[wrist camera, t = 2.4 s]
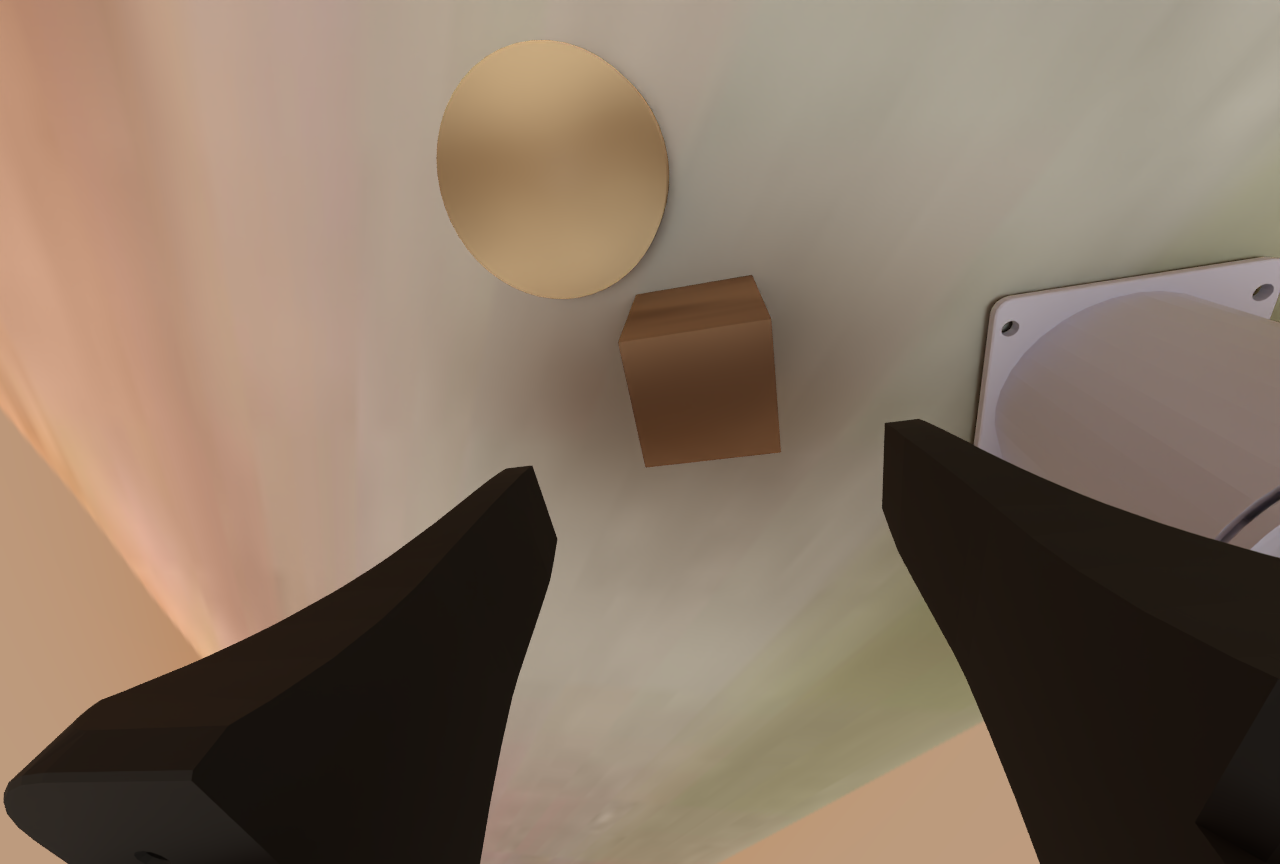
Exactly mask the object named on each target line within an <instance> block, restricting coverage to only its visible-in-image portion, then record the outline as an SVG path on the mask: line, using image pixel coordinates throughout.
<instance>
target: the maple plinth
mask: <svg viewBox="0 0 1280 864" xmlns="http://www.w3.org/2000/svg"><path fill="white" fill-rule="evenodd" d="M437 174H438V180H439V186H440V191H441V195H442V198H443V202H444V206H445V208H446V211H447V213H448V216H449V218H450V221H451V223H452V225H453V227H454V228H455V230H456V232H457V234H458V236H459V237H460V239H461V240H462V242H463V243H464V245H465V246H466V248H467V249H468V250H469V251H470V253H471V254H472V255H473V256H474V257H475V258H476V260H477V261H478V262H479V263H480V264H482V265H483V266H484V267H485V268H486V269H487V270H488V271H489V272H490V273H492V274H493V275H494V276H496V277H497V278H498V279H500V280H501V281H503V282H505V283H507V284H508V285H510V286H512V287H514V288H516V289H518V290H521V291H523V292H525V293H529V294H532V295H536V296H539V297H545V298H552V299H570V298H579V297H583V296H587V295H591V294H594V293H596V292H599V291H601V290H604V289H606V288H608V287H609V286H611V285H613V284H615V283H616V282H618V281H619V280H620V279H621V278H623V277H624V276H625V275H627V274H628V273H629V272H630V271H631V270H632V269H633V268H634V267H635V266H636V265H637V264H638V262H639V261H640V260H641V258H642V257H643V256H644V254H645V253H646V251H647V250H648V248H649V246H650V244H651V243H652V241H653V239H654V236H655V234H656V232H657V229H658V227H659V224H660V222H661V220H662V217H663V214H664V210H665V206H666V203H667V196H668V189H669V165H668V156H667V151H666V146H665V141H664V138H663V136H662V133H661V130H660V127H659V124H658V122H657V120H656V118H655V116H654V114H653V112H652V110H651V109H650V107H649V106H648V104H647V102H646V101H645V99H644V98H643V97H642V95H641V94H640V93H639V92H638V91H637V89H636V88H635V87H634V86H633V85H632V84H631V83H630V82H629V81H628V80H627V79H626V78H625V77H624V76H623V75H622V74H620V73H619V72H618V71H617V70H616V69H615V68H614V67H613V66H612V65H610V64H609V63H607V62H606V61H604V60H603V59H601V58H600V57H599V56H597V55H595V54H593V53H591V52H589V51H587V50H585V49H583V48H580V47H577V46H574V45H571V44H568V43H564V42H558V41H551V40H531V41H525V42H520V43H515V44H512V45H509V46H507V47H504V48H501V49H499V50H497V51H495V52H494V53H492V54H490V55H488V56H487V57H485V58H484V59H483V60H481V61H480V62H479V63H478V64H476V65H475V66H474V67H473V68H472V69H471V70H470V71H469V72H468V73H467V75H466V76H465V77H464V78H463V79H462V80H461V82H460V83H459V85H458V86H457V88H456V89H455V91H454V92H453V94H452V96H451V98H450V101H449V103H448V105H447V107H446V109H445V112H444V116H443V119H442V122H441V126H440V131H439V136H438V144H437Z"/></svg>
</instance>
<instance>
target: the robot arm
mask: <svg viewBox="0 0 1280 864" xmlns="http://www.w3.org/2000/svg"><path fill="white" fill-rule="evenodd" d="M1260 286H1261V289H1260V290H1259V292H1258V293H1257V294H1255V295H1254V296H1253V293H1254V291H1255V290H1256V289H1257V288H1258V287H1260ZM1279 293H1280V258H1274V257H1259V258H1253V259H1246V260H1239V261H1233V262H1226V263H1220V264H1213V265H1207V266H1200V267H1194V268H1187V269H1181V270H1174V271H1168V272H1161V273H1155V274H1148V275H1142V276H1135V277H1129V278H1122V279H1115V280H1109V281H1102V282H1096V283H1089V284H1083V285H1076V286H1070V287H1063V288H1057V289H1050V290H1044V291H1037V292H1031V293H1024V294H1018V295H1011V296H1007V297H1004V298H1002V299H1000V300H999V301H997V302H996V303H995V304H994V306H993V307H992V309H991V312H990V319H989V327H988V335H987V343H986V351H985V359H984V367H983V375H982V383H981V391H980V399H979V407H978V415H977V423H976V431H975V439H974V445H972V444H970V443H969V442H967V441H965V440H963V439H961V438H959V437H957V436H955V435H953V434H951V433H949V432H947V431H945V430H943V429H940V428H938V427H936V426H934V425H932V424H930V423H928V422H925V421H923V420H920V419H914V420H906V421H898V422H889V423H885V436H884V467H883V498H882V509H883V512H884V515H885V518H886V520H887V523H888V526H889V529H890V531H891V534H892V537H893V539H894V542H895V544H896V547H897V549H898V552H899V554H900V556H901V558H902V559H903V561H904V563H905V565H906V567H907V569H908V571H909V573H910V574H911V576H912V578H913V580H914V582H915V584H916V585H917V587H918V589H919V591H920V593H921V595H922V596H923V598H924V600H925V602H926V604H927V605H928V607H929V609H930V611H931V613H932V615H933V616H934V618H935V620H936V622H937V624H938V625H939V627H940V629H941V631H942V633H943V635H944V636H945V638H946V640H947V642H948V644H949V645H950V647H951V649H952V651H953V653H954V655H955V657H956V659H957V661H958V663H959V665H960V667H961V669H962V671H963V673H964V675H965V677H966V679H967V681H968V684H969V686H970V688H971V691H972V693H973V696H974V698H975V700H976V703H977V705H978V707H979V710H980V712H981V714H982V717H983V719H984V722H985V724H986V726H987V729H988V731H989V733H990V736H991V738H992V741H993V743H994V746H995V748H996V751H997V753H998V756H999V758H1000V761H1001V763H1002V766H1003V768H1004V771H1005V773H1006V776H1007V778H1008V781H1009V783H1010V786H1011V788H1012V791H1013V793H1014V796H1015V798H1016V801H1017V804H1018V806H1019V809H1020V812H1021V814H1022V817H1023V820H1024V822H1025V825H1026V828H1027V830H1028V833H1029V835H1030V838H1031V841H1032V843H1033V846H1034V849H1035V852H1036V854H1037V857H1038V860H1039V862H1040V864H1280V323H1279V322H1276V321H1273V320H1270V317H1271V314H1272V312H1273V309H1274V306H1275V304H1276V301H1277V299H1278V296H1279ZM1010 321H1012V322H1013V325H1012V327H1011V328H1010V329H1009V330H1008V331H1006V332H1004V333H1002V331H1001V330H1002V327H1003V326H1004V325H1005V324H1006V323H1007V322H1010ZM556 544H557V537H556V534H555V531H554V528H553V525H552V522H551V519H550V516H549V513H548V510H547V507H546V504H545V501H544V499H543V496H542V493H541V490H540V487H539V484H538V481H537V478H536V475H535V472H534V469H533V466H524V467H516V468H508V469H505V470H503V471H502V472H500V473H498V474H497V475H495V476H494V477H493V478H491V479H490V480H489V481H487V482H486V483H485V484H483V485H482V486H481V487H480V488H478V489H477V490H476V491H475V492H473V493H472V494H471V495H470V496H468V497H467V498H466V499H465V500H463V501H462V502H461V503H459V504H458V505H457V506H456V507H454V508H453V509H452V510H451V511H449V512H448V513H447V514H446V515H444V516H443V517H442V518H441V519H439V520H438V521H437V522H436V523H434V524H433V525H432V526H430V527H429V528H428V529H426V530H425V531H424V532H422V533H421V534H419V535H418V536H417V537H415V538H414V539H413V540H411V541H410V542H409V543H407V544H406V545H405V546H403V547H402V548H401V549H399V550H398V551H397V552H395V553H394V554H392V555H391V556H389V557H388V558H387V559H385V560H384V561H382V562H381V563H379V564H378V565H376V566H375V567H373V568H372V569H370V570H369V571H367V572H365V573H364V574H362V575H361V576H359V577H357V578H356V579H354V580H353V581H351V582H350V583H348V584H346V585H345V586H343V587H341V588H340V589H338V590H336V591H335V592H333V593H331V594H329V595H328V596H326V597H324V598H322V599H320V600H319V601H317V602H315V603H313V604H311V605H309V606H308V607H306V608H304V609H302V610H300V611H299V612H297V613H295V614H293V615H291V616H290V617H288V618H286V619H284V620H282V621H280V622H278V623H276V624H275V625H273V626H271V627H269V628H267V629H265V630H262V631H260V632H258V633H256V634H254V635H252V636H250V637H248V638H246V639H244V640H242V641H240V642H238V643H236V644H233V645H231V646H229V647H227V648H225V649H223V650H220V651H218V652H216V653H214V654H212V655H210V656H207V657H205V658H203V659H201V660H198V661H196V662H194V663H191V664H189V665H187V666H184V667H182V668H180V669H177V670H175V671H172V672H170V673H167V674H165V675H162V676H160V677H157V678H155V679H153V680H150V681H148V682H145V683H143V684H140V685H138V686H135V687H133V688H131V689H128V690H126V691H124V692H121V693H118V694H116V695H113V696H110V697H108V698H105V699H102V700H100V701H99V702H97V703H96V704H94V705H93V706H92V707H90V708H89V709H88V710H87V711H85V712H84V713H83V714H82V715H80V716H79V717H78V718H77V719H76V720H75V721H74V722H73V723H72V724H71V725H70V726H69V727H68V728H67V729H66V730H64V731H63V732H62V733H61V734H60V735H59V736H58V737H57V738H56V739H55V740H54V741H53V742H52V743H51V744H49V745H48V746H47V747H46V748H45V749H44V750H43V751H42V752H41V753H40V754H39V755H38V756H37V757H36V758H35V759H34V760H32V761H31V762H30V763H29V764H28V765H27V766H26V767H25V768H24V769H23V770H22V771H21V772H20V773H18V774H17V775H16V776H15V777H14V778H13V779H12V780H11V781H10V782H9V783H8V785H7V788H6V790H5V792H4V805H5V808H6V812H7V814H8V815H9V817H10V818H11V819H12V820H13V822H14V823H15V824H16V825H17V826H18V828H20V829H21V830H22V831H23V832H25V833H26V834H27V835H28V836H30V837H31V838H32V839H33V840H35V841H36V842H37V843H39V844H40V845H42V846H43V847H45V848H46V849H48V850H49V851H50V852H52V853H53V854H55V855H56V856H58V857H59V858H61V859H62V860H64V861H65V862H66V863H68V864H480V860H481V854H482V848H483V842H484V837H485V831H486V825H487V819H488V813H489V807H490V801H491V796H492V791H493V786H494V781H495V776H496V771H497V765H498V760H499V755H500V750H501V745H502V741H503V736H504V732H505V727H506V723H507V718H508V714H509V709H510V705H511V701H512V696H513V693H514V689H515V686H516V683H517V679H518V676H519V672H520V670H521V667H522V664H523V661H524V658H525V655H526V652H527V649H528V646H529V643H530V640H531V637H532V634H533V631H534V628H535V625H536V622H537V619H538V616H539V613H540V610H541V607H542V604H543V601H544V598H545V594H546V591H547V588H548V585H549V582H550V578H551V573H552V568H553V562H554V556H555V550H556Z"/></svg>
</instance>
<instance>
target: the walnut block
mask: <svg viewBox="0 0 1280 864" xmlns="http://www.w3.org/2000/svg"><path fill="white" fill-rule="evenodd" d="M618 344H619V349H620V353H621V358H622V362H623V367H624V371H625V376H626V380H627V385H628V390H629V394H630V399H631V403H632V408H633V412H634V417H635V422H636V426H637V431H638V435H639V440H640V444H641V449H642V453H643V458H644V463H645V467H654V466H663V465H672V464H681V463H690V462H698V461H707V460H716V459H725V458H734V457H743V456H752V455H761V454H770V453H779V452H781V448H780V434H779V420H778V407H777V393H776V379H775V366H774V352H773V338H772V324H771V317H770V315H769V313H768V311H767V308H766V306H765V304H764V301H763V299H762V297H761V295H760V292H759V290H758V288H757V285H756V283H755V281H754V278H753V276H752V275H749V276H743V277H737V278H732V279H726V280H720V281H714V282H708V283H702V284H696V285H690V286H684V287H679V288H673V289H667V290H661V291H655V292H649V293H643V294H637V295H636V296H635V299H634V302H633V304H632V307H631V310H630V312H629V315H628V318H627V320H626V323H625V326H624V328H623V331H622V334H621V336H620V339H619V342H618Z"/></svg>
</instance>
